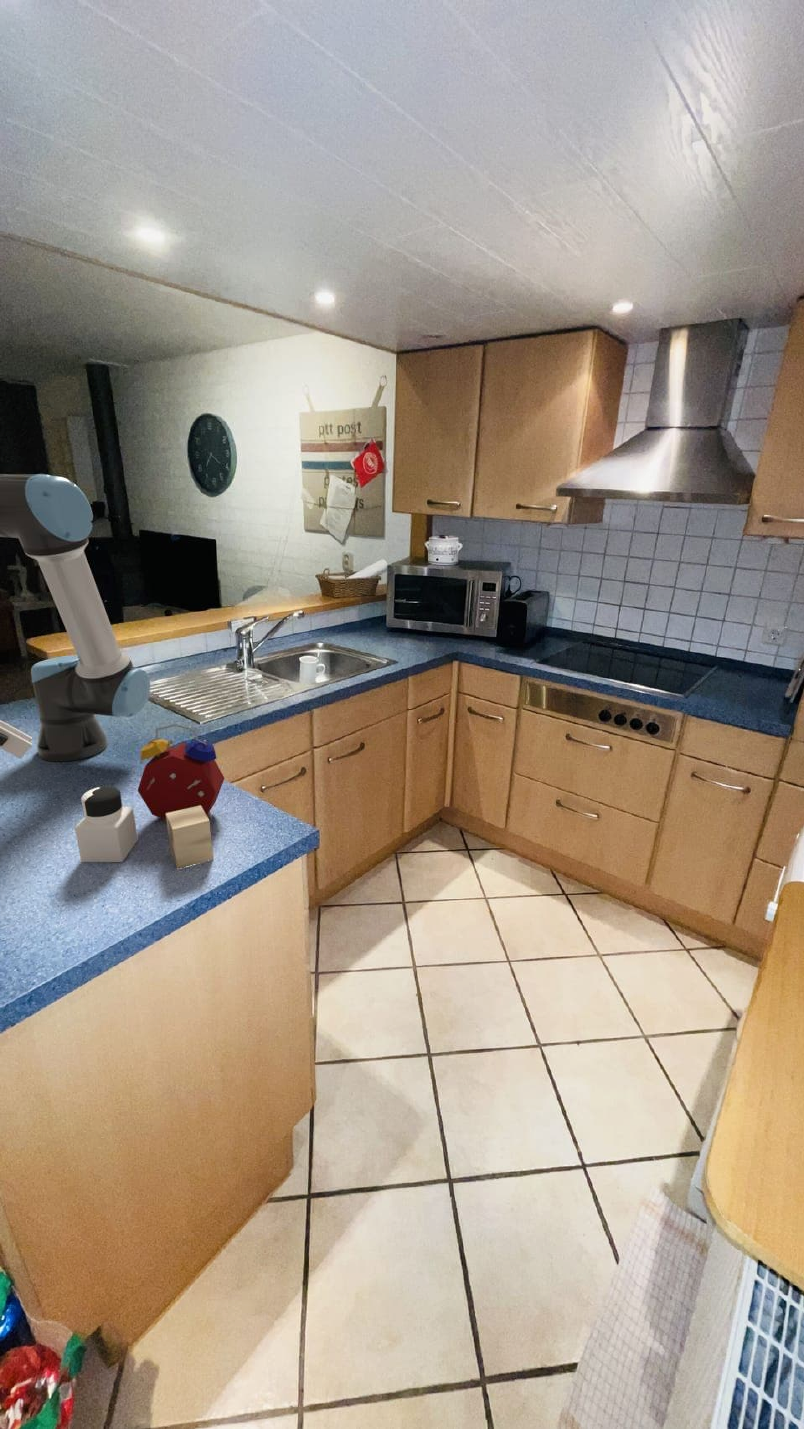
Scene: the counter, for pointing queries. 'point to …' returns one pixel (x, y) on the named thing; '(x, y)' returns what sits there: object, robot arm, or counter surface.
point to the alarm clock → (179, 775)
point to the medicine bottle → (105, 827)
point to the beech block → (189, 836)
